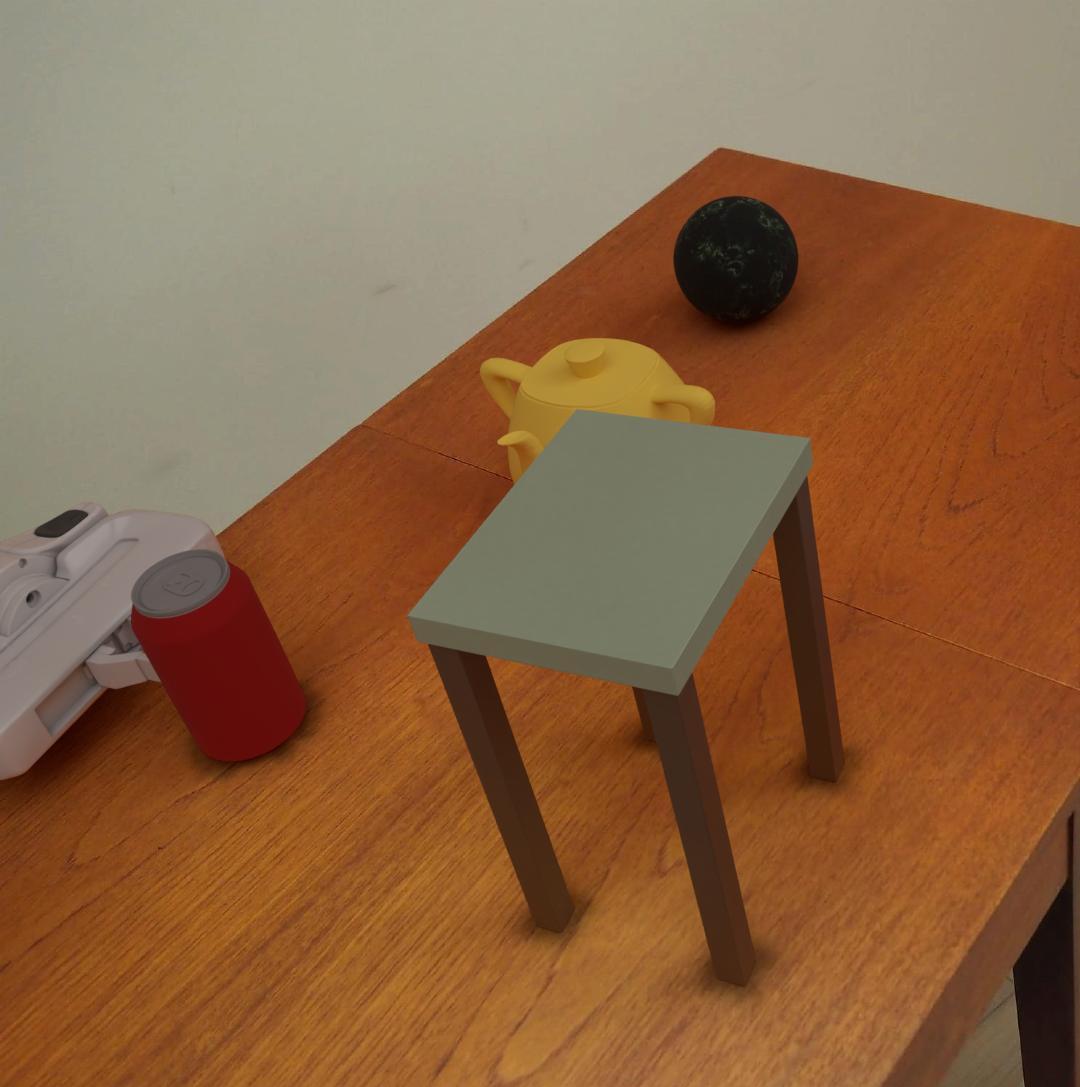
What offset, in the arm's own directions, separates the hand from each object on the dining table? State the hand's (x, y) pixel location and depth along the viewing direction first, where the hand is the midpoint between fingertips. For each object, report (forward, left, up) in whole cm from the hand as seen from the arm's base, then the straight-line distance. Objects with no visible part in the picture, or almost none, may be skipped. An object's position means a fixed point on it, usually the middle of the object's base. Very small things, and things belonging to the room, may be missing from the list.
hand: (181, 657), depth 81 cm
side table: (+20, -26, -5) cm, 33 cm away
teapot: (+29, +3, -5) cm, 29 cm away
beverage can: (+2, -3, -5) cm, 6 cm away
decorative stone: (+50, +19, -5) cm, 53 cm away
